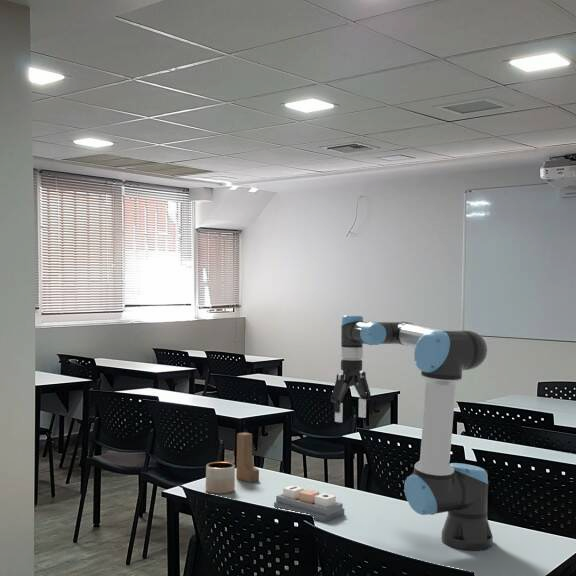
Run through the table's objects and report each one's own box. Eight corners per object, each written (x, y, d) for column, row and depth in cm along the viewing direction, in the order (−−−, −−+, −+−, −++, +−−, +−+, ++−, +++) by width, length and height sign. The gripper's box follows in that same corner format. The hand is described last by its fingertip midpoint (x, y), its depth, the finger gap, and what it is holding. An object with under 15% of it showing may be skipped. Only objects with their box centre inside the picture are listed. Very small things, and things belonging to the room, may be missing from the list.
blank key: (319, 500, 247) (319, 492, 247) (310, 503, 243) (310, 495, 243) (307, 497, 250) (307, 489, 250) (298, 500, 246) (298, 492, 246)
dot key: (335, 505, 242) (335, 495, 242) (326, 508, 238) (326, 498, 238) (323, 502, 245) (323, 492, 245) (314, 505, 242) (314, 495, 242)
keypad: (344, 514, 244) (344, 502, 244) (324, 522, 235) (324, 510, 235) (294, 501, 258) (294, 490, 258) (273, 508, 249) (274, 496, 249)
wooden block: (259, 481, 284) (260, 435, 284) (250, 483, 281) (251, 437, 281) (244, 476, 291) (245, 432, 291) (235, 478, 288) (236, 433, 288)
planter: (220, 496, 263) (221, 470, 263) (199, 490, 269) (199, 465, 269) (240, 490, 271) (241, 464, 271) (219, 485, 278) (219, 460, 278)
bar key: (303, 496, 251) (303, 487, 251) (294, 499, 247) (294, 490, 247) (292, 493, 254) (292, 484, 254) (283, 496, 251) (283, 487, 251)
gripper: (364, 356, 265) (363, 414, 265) (320, 360, 246) (319, 422, 246) (380, 357, 260) (379, 416, 260) (338, 362, 241) (336, 425, 241)
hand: (350, 419), depth 253 cm, fingers open, 13 cm apart
